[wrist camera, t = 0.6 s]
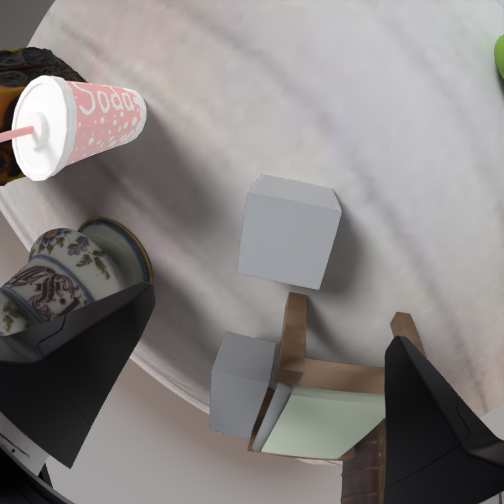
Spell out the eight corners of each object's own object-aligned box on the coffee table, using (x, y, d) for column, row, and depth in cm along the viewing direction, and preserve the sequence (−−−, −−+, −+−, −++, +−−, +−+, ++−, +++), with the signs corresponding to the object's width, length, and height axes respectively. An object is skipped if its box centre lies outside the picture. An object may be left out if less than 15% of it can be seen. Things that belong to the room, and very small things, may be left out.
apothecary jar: (86, 299, 28) (-3, 403, 12) (61, 204, 22) (-74, 297, 7) (171, 321, 26) (85, 473, 11) (155, 208, 21) (-28, 368, 5)
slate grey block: (332, 188, 18) (342, 211, 13) (316, 251, 20) (318, 289, 16) (261, 173, 18) (247, 191, 14) (251, 238, 21) (236, 273, 16)
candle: (93, 84, 16) (-2, 90, 8) (52, 170, 21) (-24, 205, 12) (48, 45, 14) (-27, 47, 6) (15, 122, 19) (-51, 142, 10)
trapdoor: (389, 353, 19) (399, 402, 15) (337, 421, 25) (336, 459, 20) (226, 325, 20) (207, 375, 16) (218, 402, 26) (206, 439, 22)
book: (337, 417, 30) (322, 582, 8) (386, 400, 27) (388, 578, 5) (376, 447, 34) (372, 564, 12) (412, 434, 31) (417, 556, 10)
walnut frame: (410, 313, 21) (434, 382, 14) (347, 406, 28) (348, 460, 22) (289, 292, 22) (279, 368, 15) (259, 394, 30) (247, 450, 23)
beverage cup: (161, 143, 18) (-8, 202, 6) (102, 160, 19) (-39, 223, 7) (149, 69, 16) (-19, 56, 3) (92, 95, 17) (-54, 118, 5)
